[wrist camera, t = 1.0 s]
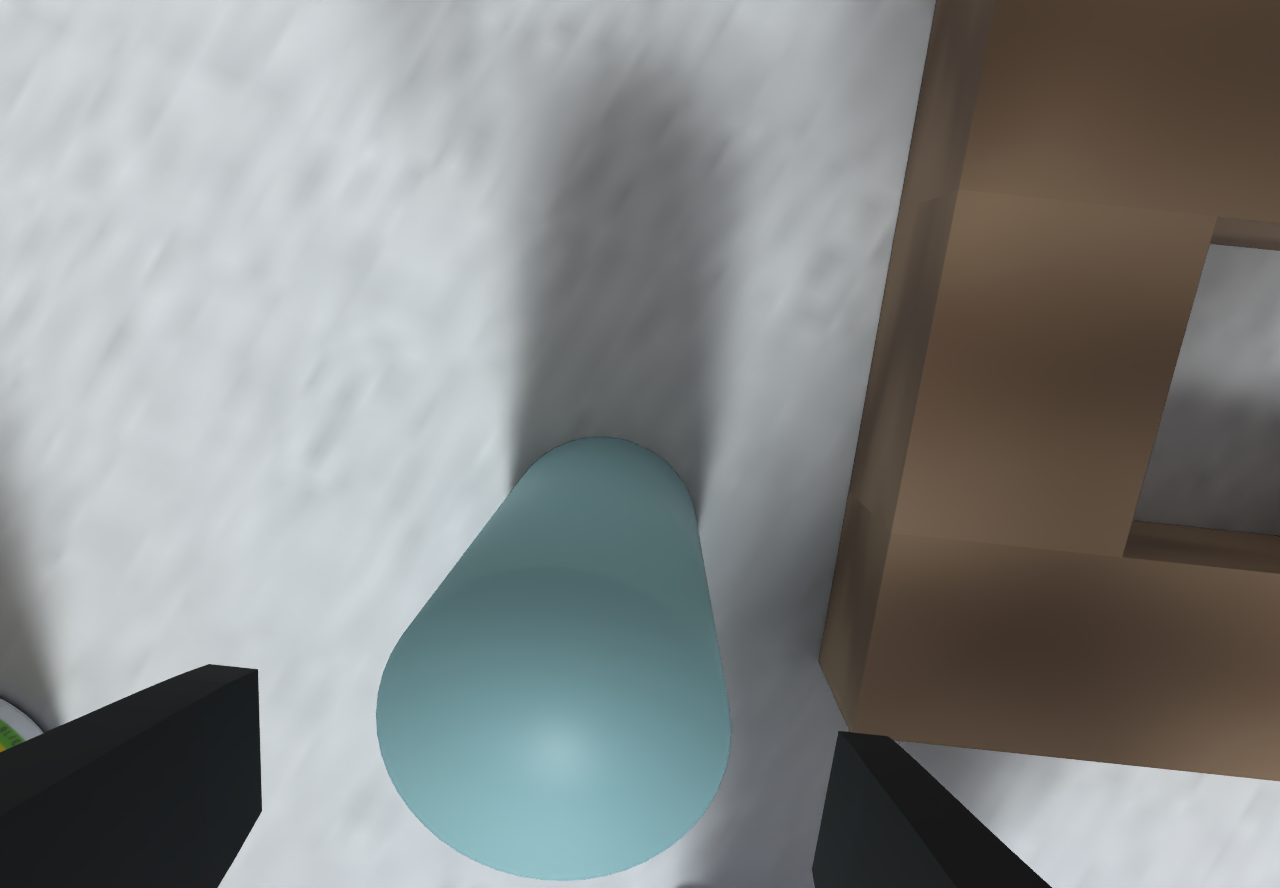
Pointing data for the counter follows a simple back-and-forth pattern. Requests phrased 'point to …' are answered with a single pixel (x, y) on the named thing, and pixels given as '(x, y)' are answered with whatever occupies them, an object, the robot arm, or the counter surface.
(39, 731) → the supplement bottle
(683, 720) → the teal peg
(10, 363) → the counter surface
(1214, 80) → the walnut well block
